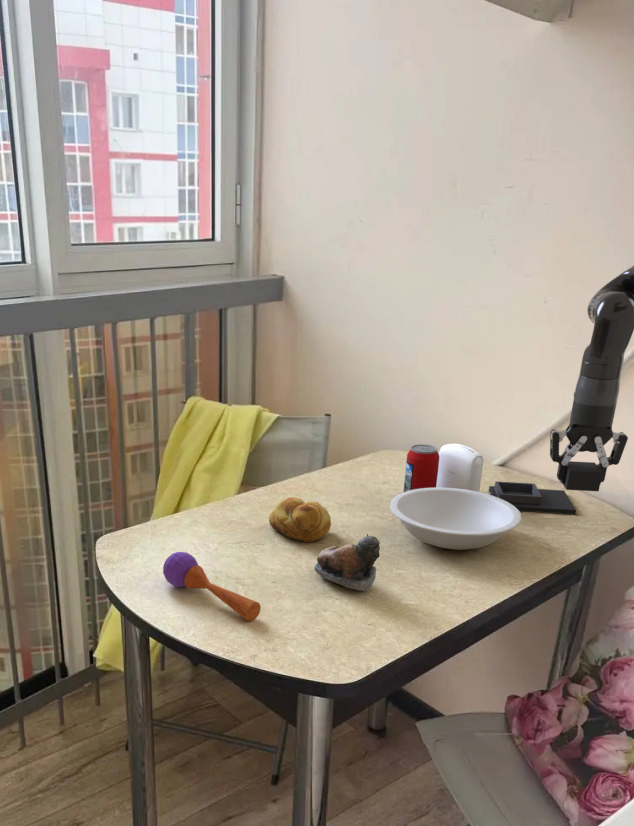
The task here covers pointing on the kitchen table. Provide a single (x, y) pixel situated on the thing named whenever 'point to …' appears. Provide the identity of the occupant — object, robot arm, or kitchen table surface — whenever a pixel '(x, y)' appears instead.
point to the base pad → (533, 498)
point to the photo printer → (459, 467)
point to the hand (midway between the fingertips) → (579, 482)
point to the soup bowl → (454, 516)
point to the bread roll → (300, 519)
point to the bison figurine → (350, 563)
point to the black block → (583, 476)
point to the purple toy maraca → (205, 584)
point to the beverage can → (421, 467)
